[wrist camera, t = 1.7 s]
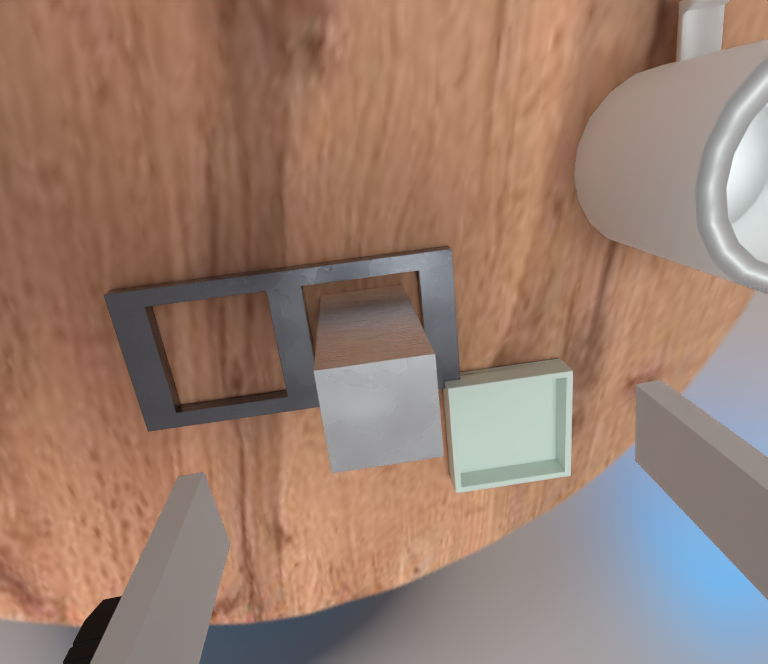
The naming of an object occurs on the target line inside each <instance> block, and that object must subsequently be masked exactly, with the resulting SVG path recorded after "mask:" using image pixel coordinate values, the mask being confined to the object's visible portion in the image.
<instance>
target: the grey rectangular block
mask: <svg viewBox="0 0 768 664" xmlns="http://www.w3.org/2000/svg"><path fill="white" fill-rule="evenodd" d="M314 376H315V382H316V387H317V393H318V399H319V404H320V410H321V415H322V421H323V426H324V432H325V437H326V443H327V448H328V454H329V459H330V465H331V471H332V473H337V472H343V471H350V470H357V469H363V468H370V467H377V466H383V465H390V464H396V463H403V462H410V461H416V460H423V459H430V458H436V457H443V456H444V454H443V442H442V430H441V418H440V406H439V394H438V382H437V370H436V358H435V353H434V350H433V348H432V346H431V344H430V342H429V340H428V338H427V336H426V334H425V332H424V329H423V327H422V325H421V323H420V321H419V319H418V317H417V315H416V313H415V311H414V308H413V306H412V304H411V302H410V300H409V298H408V296H407V294H406V292H405V290H404V287H403V285H402V284H401V285H393V286H386V287H378V288H371V289H364V290H356V291H349V292H341V293H334V294H326V295H321V300H320V310H319V320H318V330H317V341H316V351H315V361H314Z"/></svg>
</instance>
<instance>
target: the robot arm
mask: <svg viewBox="0 0 768 664" xmlns="http://www.w3.org/2000/svg"><path fill="white" fill-rule="evenodd" d="M635 461H636V462H637V463H638V464H639V465H640V466H641V467H642V468H643V469H644V470H645V471H646V472H647V473H648V474H649V476H650V477H651V478H652V479H653V480H654V481H655V482H656V483H657V484H658V485H659V486H660V487H661V488H662V489H663V490H664V491H665V492H666V493H667V494H668V495H669V496H670V498H671V499H672V500H673V501H674V502H675V503H676V504H677V505H678V506H679V507H680V508H681V509H682V510H683V511H684V512H685V513H686V514H687V516H689V518H690V519H691V520H692V521H693V522H694V523H695V524H696V525H697V526H698V527H699V528H700V529H701V530H702V531H703V532H704V533H705V534H706V535H707V536H708V538H710V540H711V541H712V542H713V543H714V544H715V545H716V546H717V547H718V548H719V549H720V550H721V551H722V552H723V553H724V554H725V556H726V557H728V559H729V560H730V561H731V562H732V563H733V564H734V565H735V566H736V567H737V568H738V569H739V570H740V571H741V572H742V573H743V574H744V575H745V577H746V578H747V579H748V580H749V581H750V582H751V583H752V584H753V585H754V586H755V587H756V588H757V589H758V590H759V591H760V592H761V593H762V594H763V595H764V596H765V598H766V599H767V600H768V457H767V456H765V455H764V454H763V453H761V452H760V451H758V450H757V449H756V448H754V447H753V446H752V445H750V444H749V443H747V442H746V441H745V440H743V439H742V438H740V437H739V436H737V435H736V434H735V433H733V432H732V431H731V430H729V429H728V428H727V427H725V426H724V425H722V424H721V423H720V422H718V421H717V420H715V419H714V418H713V417H711V416H710V415H709V414H707V413H706V412H704V411H703V410H702V409H700V408H699V407H698V406H696V405H695V404H693V403H692V402H691V401H689V400H688V399H686V398H685V397H684V396H682V395H681V394H680V393H678V392H677V391H675V390H674V389H673V388H671V387H670V386H669V385H667V384H666V383H664V382H663V381H662V380H657V381H652V382H647V383H642V384H637V385H636V432H635ZM229 546H230V542H229V539H228V536H227V533H226V531H225V528H224V525H223V523H222V520H221V517H220V514H219V512H218V509H217V506H216V504H215V501H214V498H213V495H212V493H211V490H210V487H209V484H208V482H207V479H206V476H205V474H204V472H201V473H196V474H191V475H186V476H181V477H178V478H177V480H176V483H175V485H174V487H173V489H172V491H171V493H170V495H169V497H168V500H167V502H166V504H165V506H164V508H163V510H162V512H161V514H160V517H159V519H158V521H157V523H156V525H155V527H154V529H153V531H152V533H151V536H150V538H149V540H148V542H147V544H146V546H145V548H144V550H143V553H142V555H141V557H140V559H139V561H138V563H137V565H136V567H135V570H134V572H133V574H132V576H131V578H130V580H129V582H128V584H127V586H126V589H125V591H124V593H123V595H122V596H120V597H115V598H110V599H105V600H103V601H102V602H101V603H100V604H99V605H98V606H97V608H96V609H95V610H94V611H93V612H92V613H91V614H90V615H89V616H88V618H87V619H86V620H85V621H84V623H83V625H82V627H81V629H80V631H79V633H78V634H77V636H76V638H75V640H74V642H73V647H72V648H70V650H69V651H68V654H67V655H66V657H65V659H64V661H63V664H199V661H200V657H201V653H202V649H203V646H204V642H205V638H206V634H207V630H208V627H209V623H210V619H211V615H212V611H213V607H214V604H215V600H216V596H217V592H218V588H219V585H220V581H221V577H222V573H223V569H224V566H225V562H226V558H227V554H228V550H229Z"/></svg>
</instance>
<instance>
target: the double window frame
mask: <svg viewBox="0 0 768 664" xmlns="http://www.w3.org/2000/svg"><path fill="white" fill-rule="evenodd" d="M410 271H417V275H418V286H419V297H420V308H421V318H422V327H423V329H424V332H425V334H426V336H427V338H428V340H429V342H430V344H431V346H432V348H433V350H434V353H435V358H436V370H437V382H438V390H439V389H445V382H446V381H453V380H460V369H459V354H458V339H457V323H456V308H455V293H454V278H453V262H452V249H451V248H450V247H449V246H444V247H436V248H428V249H421V250H413V251H406V252H398V253H390V254H383V255H375V256H367V257H360V258H352V259H345V260H337V261H329V262H322V263H314V264H307V265H299V266H291V267H284V268H276V269H269V270H261V271H253V272H246V273H238V274H231V275H223V276H215V277H208V278H200V279H192V280H185V281H177V282H170V283H162V284H154V285H147V286H139V287H132V288H124V289H116V290H111V291H109V292H107V293H106V294H104V297H105V301H106V304H107V307H108V310H109V313H110V316H111V319H112V322H113V325H114V328H115V331H116V334H117V337H118V340H119V344H120V347H121V350H122V353H123V356H124V359H125V362H126V365H127V368H128V371H129V374H130V377H131V380H132V383H133V386H134V390H135V393H136V396H137V399H138V402H139V405H140V408H141V411H142V414H143V417H144V420H145V423H146V426H147V429H148V431H155V430H162V429H169V428H176V427H182V426H189V425H196V424H203V423H210V422H217V421H224V420H231V419H238V418H245V417H252V416H259V415H266V414H273V413H280V412H287V411H294V410H301V409H307V408H314V407H320V404H319V399H318V393H317V387H316V382H315V376H314V361H315V354H314V348H313V342H312V337H311V331H310V326H309V320H308V314H307V309H306V303H305V297H304V292H303V286H305V285H313V284H320V283H328V282H335V281H343V280H350V279H358V278H365V277H373V276H380V275H388V274H395V273H403V272H410ZM260 291H266V292H267V297H268V301H269V306H270V311H271V316H272V321H273V326H274V331H275V336H276V341H277V345H278V350H279V355H280V360H281V365H282V370H283V375H284V380H285V385H286V389H287V390H285V391H278V392H271V393H264V394H257V395H250V396H243V397H235V398H228V399H221V400H214V401H207V402H200V403H193V404H186V405H180V401H179V398H178V394H177V391H176V388H175V384H174V381H173V377H172V374H171V371H170V367H169V364H168V360H167V357H166V353H165V350H164V347H163V343H162V340H161V336H160V333H159V330H158V326H157V323H156V319H155V316H154V312H153V309H152V306H155V305H163V304H170V303H178V302H185V301H193V300H200V299H208V298H215V297H223V296H230V295H238V294H245V293H253V292H260Z"/></svg>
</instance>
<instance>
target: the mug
mask: <svg viewBox="0 0 768 664" xmlns="http://www.w3.org/2000/svg"><path fill="white" fill-rule="evenodd" d="M729 1H730V0H681V1H680V2H679V12H678V31H677V50H676V62H672V63H668V64H664V65H661V66H658V67H655V68H652V69H649V70H646V71H643V72H640V73H637V74H634V75H633V76H631V77H630V78H629V79H627V80H626V81H625V82H623V83H622V84H620V85H619V86H618V87H616V88H615V89H614V90H612V91H611V92H609V94H608V95H607V96H606V97H605V99H604V100H603V101H602V103H601V104H600V105H599V106H598V108H597V109H596V110H595V111H594V113H593V114H592V115H591V117H590V118H589V120H588V123H587V125H586V127H585V130H584V132H583V134H582V137H581V139H580V141H579V144H578V146H577V154H576V161H575V169H574V180H575V186H576V192H577V198H578V203H579V204H580V206H581V208H582V210H583V212H584V214H585V215H586V217H587V219H588V221H589V223H590V224H591V225H592V226H593V227H594V228H596V229H597V230H598V231H599V232H600V233H601V234H603V235H604V236H605V237H606V238H607V239H610V240H612V241H615V242H618V243H621V244H624V245H627V246H629V247H632V248H635V249H638V250H641V251H644V252H647V253H650V254H653V255H656V256H658V257H661V258H664V259H667V260H670V261H673V262H676V263H679V264H682V265H685V266H688V267H690V268H693V269H696V270H699V271H702V272H705V273H708V274H711V275H714V276H717V277H719V278H722V279H725V280H728V281H731V282H734V283H737V284H740V285H743V286H746V287H748V288H751V289H754V290H757V291H760V292H763V293H766V294H768V39H766V40H762V41H757V42H753V43H749V44H745V45H741V46H737V47H733V48H729V49H725V50H721V45H722V33H723V20H724V8H725V4H727V3H728V2H729Z"/></svg>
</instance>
